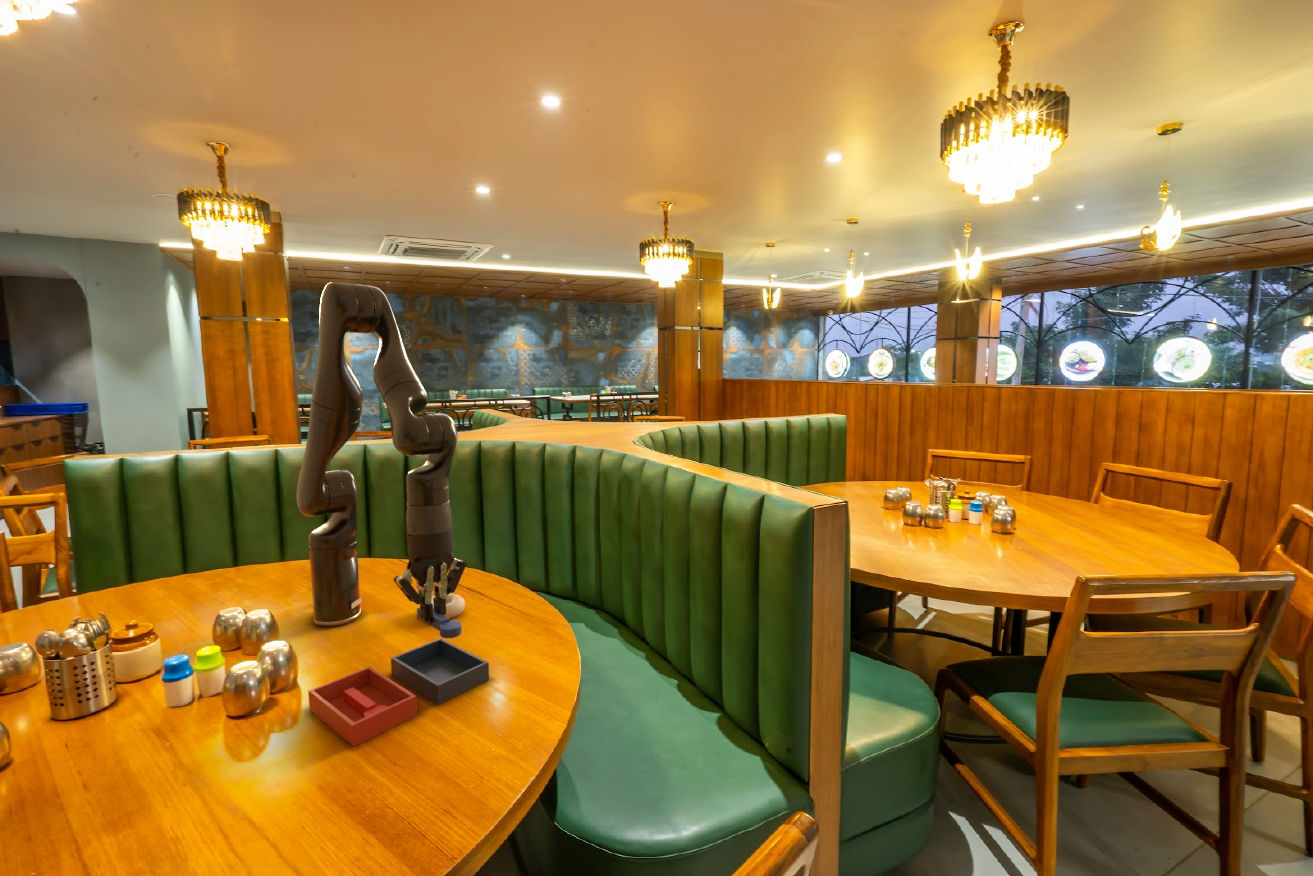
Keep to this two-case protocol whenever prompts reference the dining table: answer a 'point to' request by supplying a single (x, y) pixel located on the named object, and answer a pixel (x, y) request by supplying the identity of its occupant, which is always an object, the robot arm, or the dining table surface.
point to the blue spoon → (444, 625)
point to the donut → (453, 605)
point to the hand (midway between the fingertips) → (433, 620)
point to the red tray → (350, 722)
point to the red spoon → (361, 702)
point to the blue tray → (440, 670)
